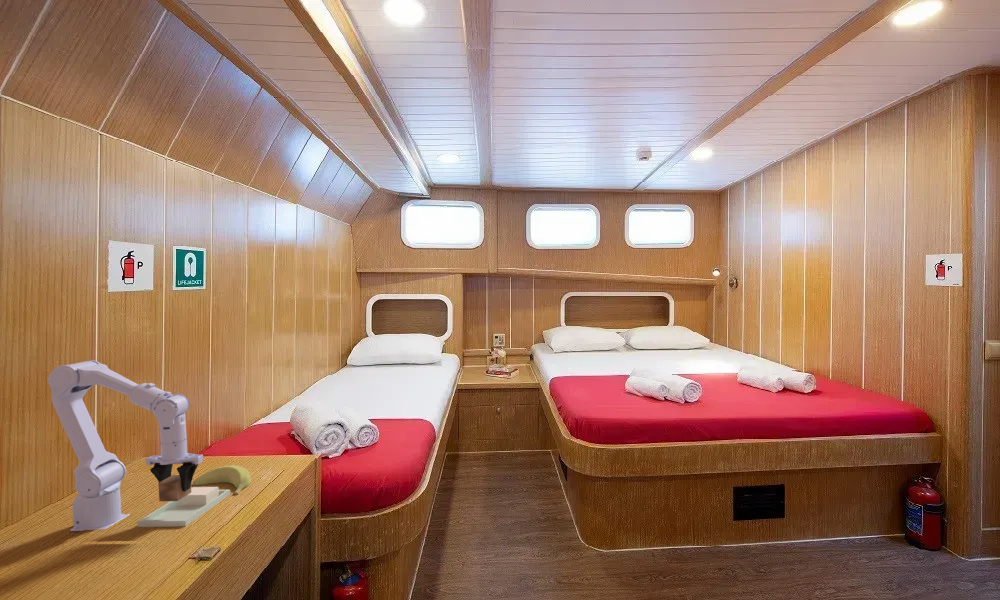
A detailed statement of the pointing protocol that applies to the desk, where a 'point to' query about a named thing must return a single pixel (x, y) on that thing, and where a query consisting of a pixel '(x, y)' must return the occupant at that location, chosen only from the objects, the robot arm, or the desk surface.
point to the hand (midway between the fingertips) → (176, 489)
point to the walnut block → (172, 489)
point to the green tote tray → (178, 513)
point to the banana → (226, 477)
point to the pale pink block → (199, 496)
